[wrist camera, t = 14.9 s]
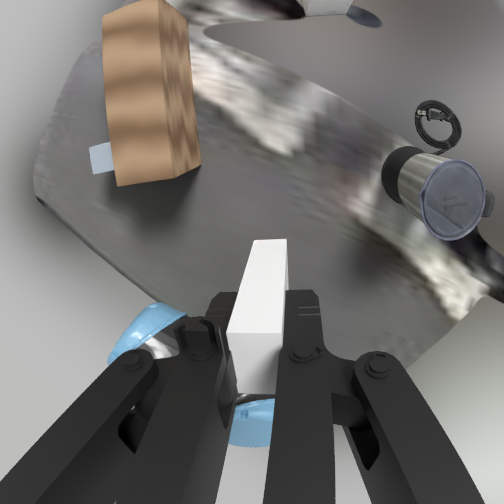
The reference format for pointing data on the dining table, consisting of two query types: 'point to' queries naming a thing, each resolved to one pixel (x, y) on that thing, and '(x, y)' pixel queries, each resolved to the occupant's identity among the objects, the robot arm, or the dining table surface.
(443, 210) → the milk frother
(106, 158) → the slate button
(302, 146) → the dining table surface
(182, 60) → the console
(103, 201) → the dining table surface
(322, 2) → the milk
